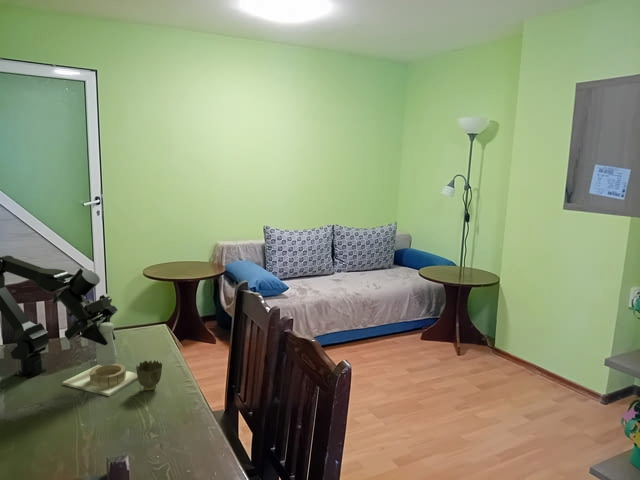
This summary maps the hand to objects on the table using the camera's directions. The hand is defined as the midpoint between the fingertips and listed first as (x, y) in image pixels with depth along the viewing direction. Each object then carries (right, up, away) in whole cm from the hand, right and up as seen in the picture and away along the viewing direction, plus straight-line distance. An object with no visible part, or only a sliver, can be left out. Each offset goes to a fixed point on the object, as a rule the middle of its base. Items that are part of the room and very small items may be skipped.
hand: (110, 342), depth 143 cm
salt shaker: (-2, -7, +1) cm, 7 cm away
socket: (-4, -13, +3) cm, 14 cm away
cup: (+13, -14, -2) cm, 19 cm away
